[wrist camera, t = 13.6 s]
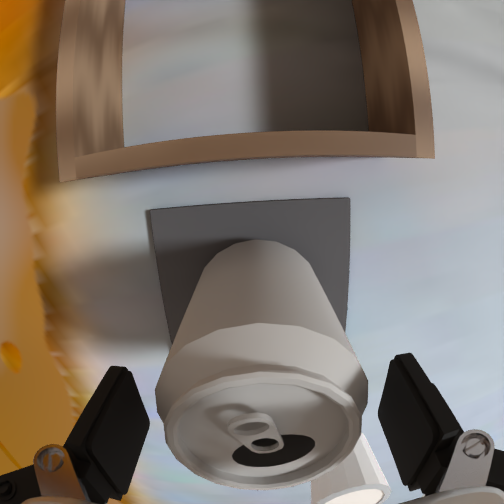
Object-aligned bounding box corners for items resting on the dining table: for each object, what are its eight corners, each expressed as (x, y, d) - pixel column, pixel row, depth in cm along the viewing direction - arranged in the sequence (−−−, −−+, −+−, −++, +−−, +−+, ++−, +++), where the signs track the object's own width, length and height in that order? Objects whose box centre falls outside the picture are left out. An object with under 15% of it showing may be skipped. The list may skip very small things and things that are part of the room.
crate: (117, -37, 13) (85, -77, 7) (350, -55, 13) (373, -100, 7) (112, 174, 18) (59, 182, 12) (384, 157, 17) (434, 158, 12)
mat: (152, 209, 19) (149, 210, 18) (348, 197, 18) (350, 198, 18) (179, 370, 22) (178, 373, 21) (340, 362, 22) (341, 365, 21)
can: (226, 356, 21) (208, 509, 9) (179, 260, 19) (95, 390, 7) (330, 322, 20) (390, 468, 9) (296, 217, 18) (364, 315, 7)
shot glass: (352, 414, 23) (373, 476, 17) (382, 443, 25) (402, 495, 18) (288, 449, 25) (294, 509, 18) (325, 473, 26) (335, 525, 19)
